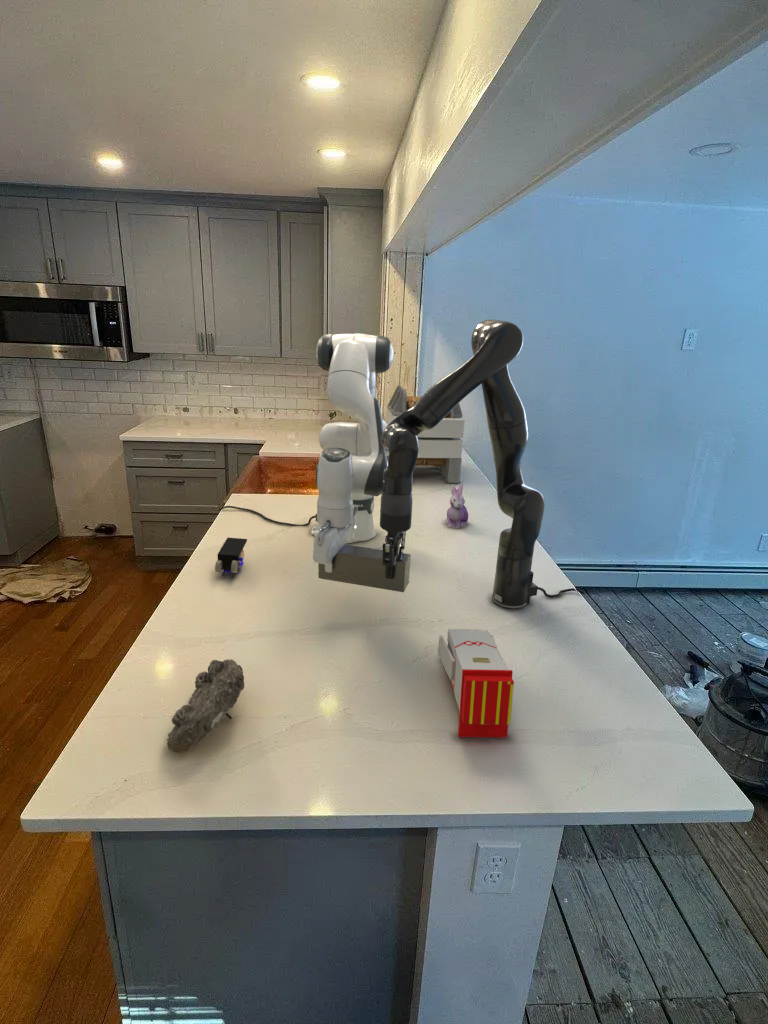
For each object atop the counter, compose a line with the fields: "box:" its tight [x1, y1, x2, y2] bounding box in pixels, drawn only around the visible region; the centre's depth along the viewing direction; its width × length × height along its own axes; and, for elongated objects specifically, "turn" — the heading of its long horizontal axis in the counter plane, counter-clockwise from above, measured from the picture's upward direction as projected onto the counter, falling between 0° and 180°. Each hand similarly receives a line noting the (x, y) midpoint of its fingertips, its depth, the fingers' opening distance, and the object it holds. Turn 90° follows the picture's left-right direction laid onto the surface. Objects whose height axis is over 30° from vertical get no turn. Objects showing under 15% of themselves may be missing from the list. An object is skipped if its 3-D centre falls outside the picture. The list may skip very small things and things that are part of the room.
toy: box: [437, 628, 515, 738], centre depth 117 cm, size 12×13×30 cm
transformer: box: [385, 384, 465, 484], centre depth 268 cm, size 34×33×41 cm
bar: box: [317, 544, 412, 593], centre depth 142 cm, size 22×6×8 cm, turn 74°
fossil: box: [166, 658, 245, 754], centre depth 106 cm, size 22×10×15 cm
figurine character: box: [214, 537, 248, 578], centre depth 166 cm, size 7×8×15 cm
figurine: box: [445, 484, 469, 529], centre depth 209 cm, size 9×10×15 cm
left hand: (334, 565), depth 144 cm, fingers closed on bar, 5 cm apart
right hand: (393, 572), depth 140 cm, fingers closed on bar, 5 cm apart
